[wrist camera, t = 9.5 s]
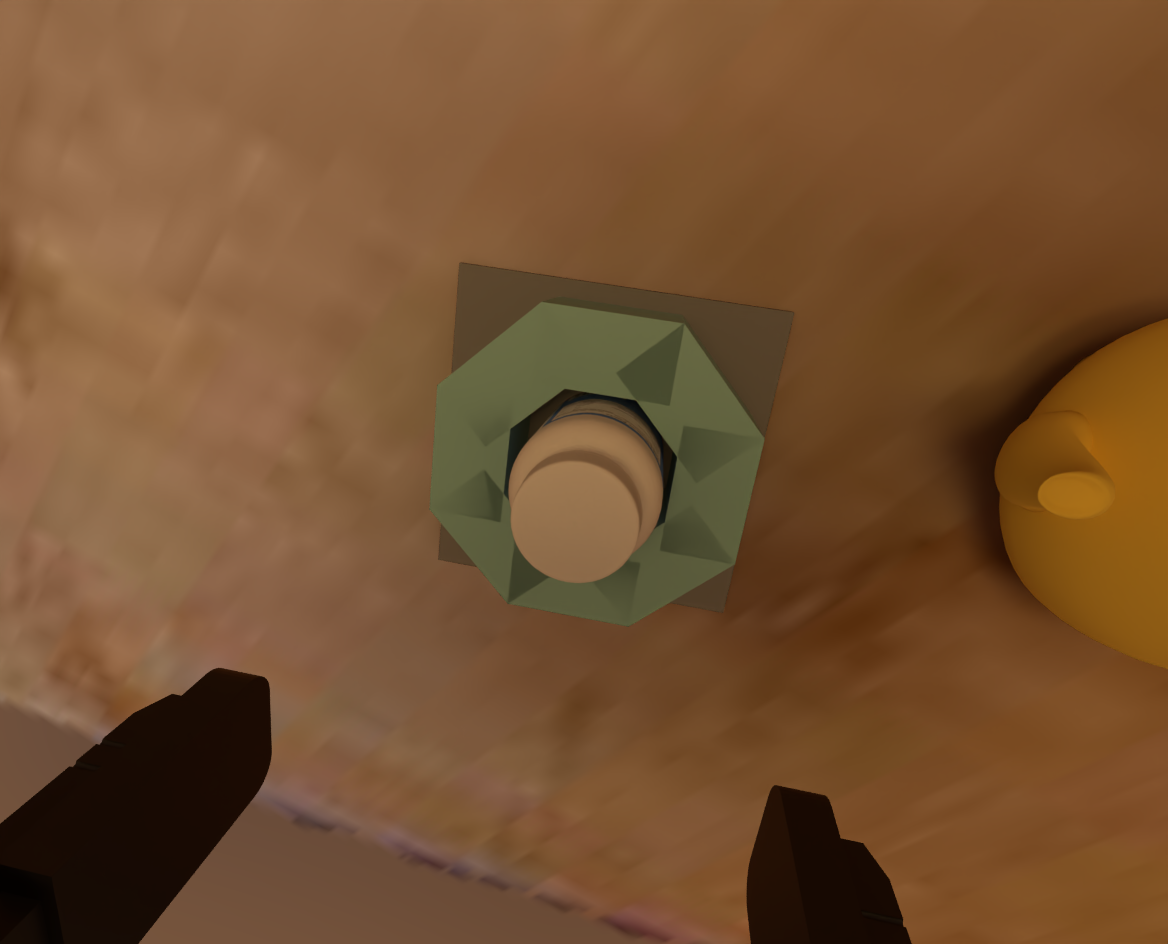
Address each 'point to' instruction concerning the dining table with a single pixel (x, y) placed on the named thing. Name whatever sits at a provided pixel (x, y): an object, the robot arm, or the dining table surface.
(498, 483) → the green faceted planter
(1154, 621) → the teapot
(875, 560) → the dining table surface
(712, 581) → the felt mat
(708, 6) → the dining table surface
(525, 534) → the pill bottle
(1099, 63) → the dining table surface
